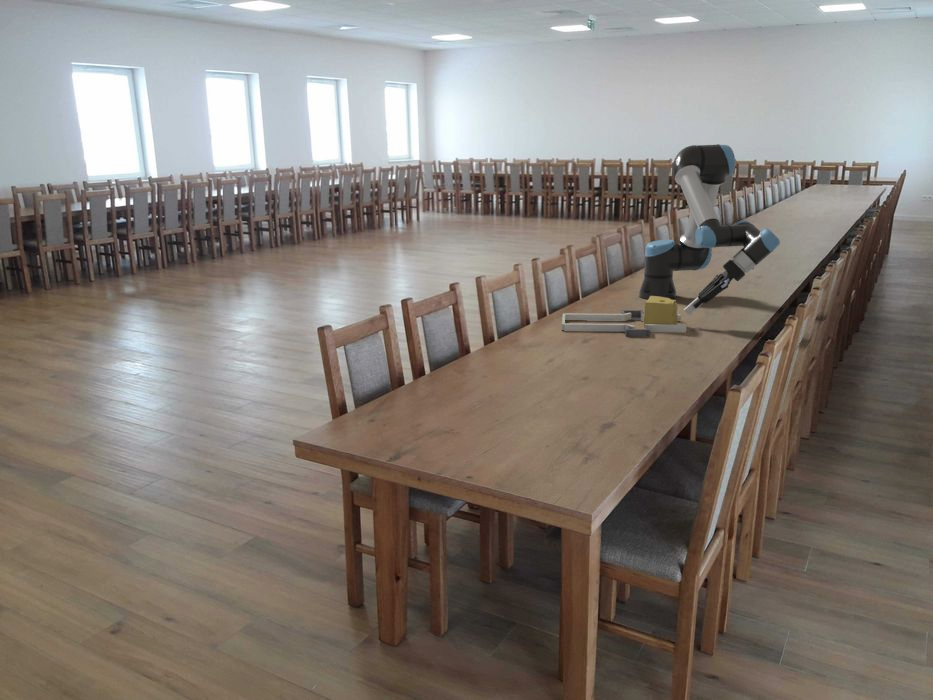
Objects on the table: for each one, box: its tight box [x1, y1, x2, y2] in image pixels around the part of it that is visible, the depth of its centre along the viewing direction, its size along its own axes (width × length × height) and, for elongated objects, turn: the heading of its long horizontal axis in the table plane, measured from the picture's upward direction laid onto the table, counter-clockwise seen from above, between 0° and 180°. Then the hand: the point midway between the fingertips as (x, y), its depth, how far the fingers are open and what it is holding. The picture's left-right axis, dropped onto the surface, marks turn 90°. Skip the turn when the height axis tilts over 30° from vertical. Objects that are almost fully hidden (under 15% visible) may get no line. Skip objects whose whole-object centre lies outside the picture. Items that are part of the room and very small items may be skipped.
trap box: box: [561, 309, 687, 338], centre depth 273 cm, size 29×43×2 cm
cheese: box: [643, 296, 678, 329], centre depth 270 cm, size 10×11×10 cm
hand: (686, 312), depth 269 cm, fingers closed
